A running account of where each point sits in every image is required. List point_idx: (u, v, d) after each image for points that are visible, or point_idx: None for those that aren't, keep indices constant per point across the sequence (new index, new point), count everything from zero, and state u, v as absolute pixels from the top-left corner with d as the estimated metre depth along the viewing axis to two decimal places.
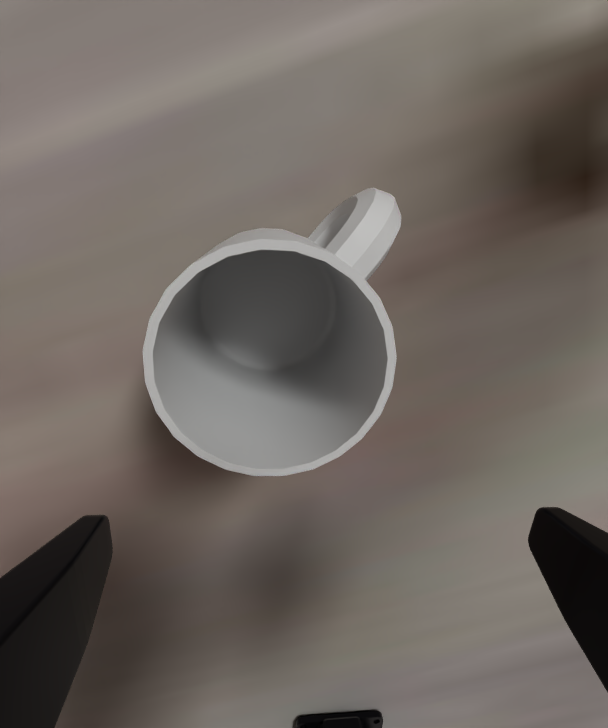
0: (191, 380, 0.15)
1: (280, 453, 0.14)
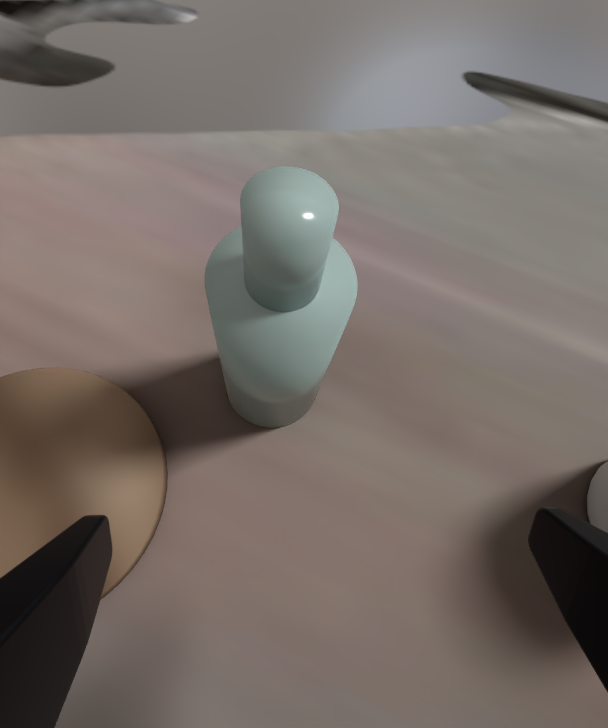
0: None
1: None
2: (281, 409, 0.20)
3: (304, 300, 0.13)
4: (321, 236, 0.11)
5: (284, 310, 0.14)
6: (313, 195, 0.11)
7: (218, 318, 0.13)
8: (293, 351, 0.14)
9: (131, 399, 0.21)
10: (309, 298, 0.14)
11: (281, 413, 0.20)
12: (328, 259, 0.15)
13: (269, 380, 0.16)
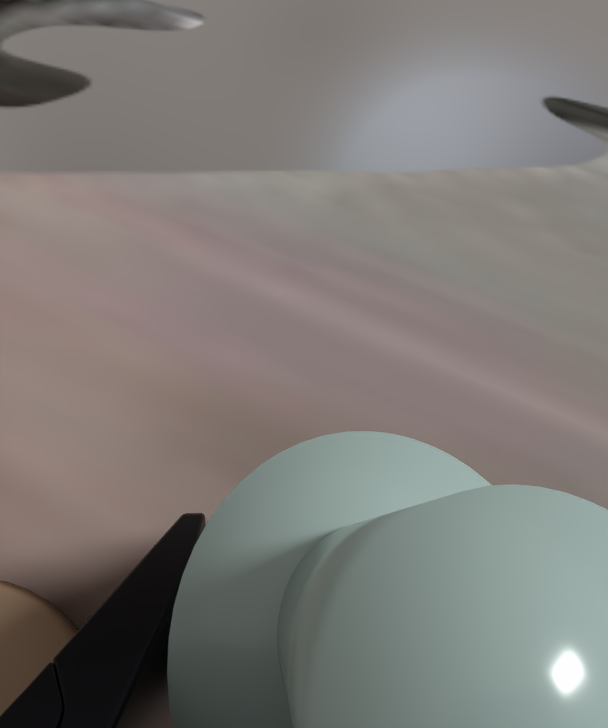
0: None
1: None
2: None
3: None
4: None
5: None
6: None
7: None
8: None
9: (60, 640, 0.12)
10: None
11: None
12: None
13: None
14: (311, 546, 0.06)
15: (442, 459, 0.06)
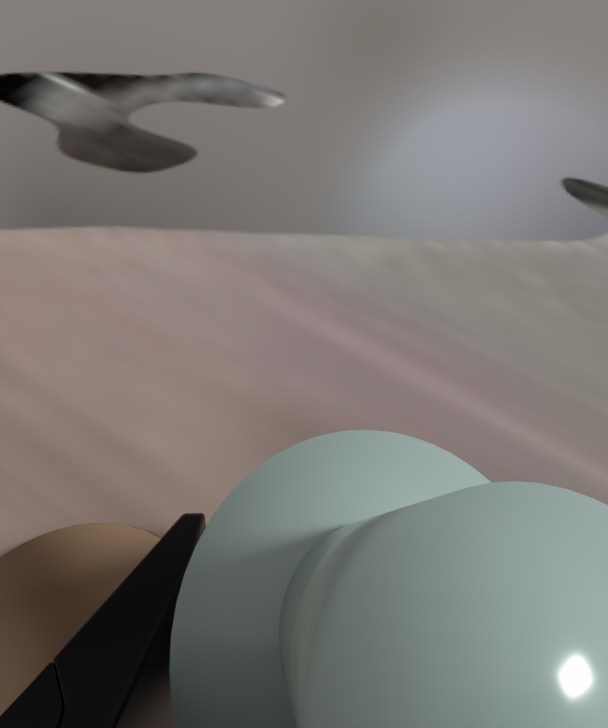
0: None
1: None
2: None
3: None
4: None
5: None
6: None
7: None
8: None
9: None
10: None
11: None
12: None
13: None
14: (313, 544, 0.06)
15: (444, 457, 0.06)
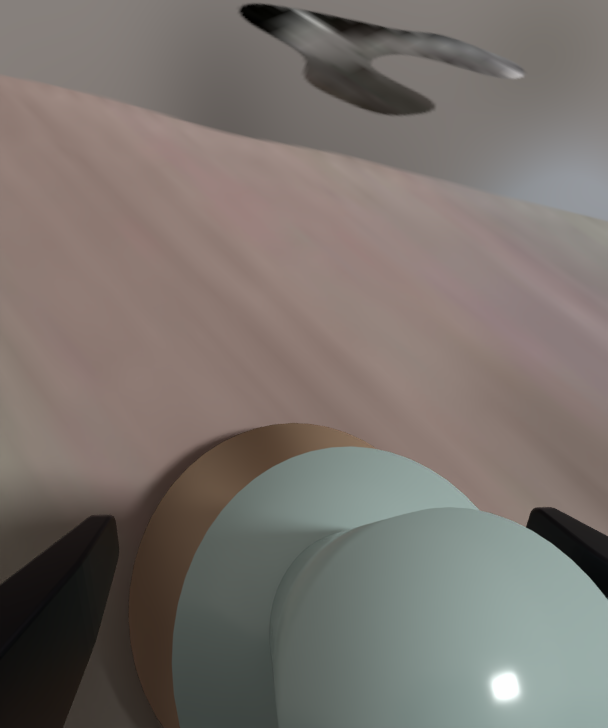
0: None
1: None
2: None
3: None
4: None
5: None
6: (557, 656, 0.03)
7: None
8: None
9: None
10: None
11: None
12: None
13: None
14: (300, 552, 0.06)
15: (421, 471, 0.07)
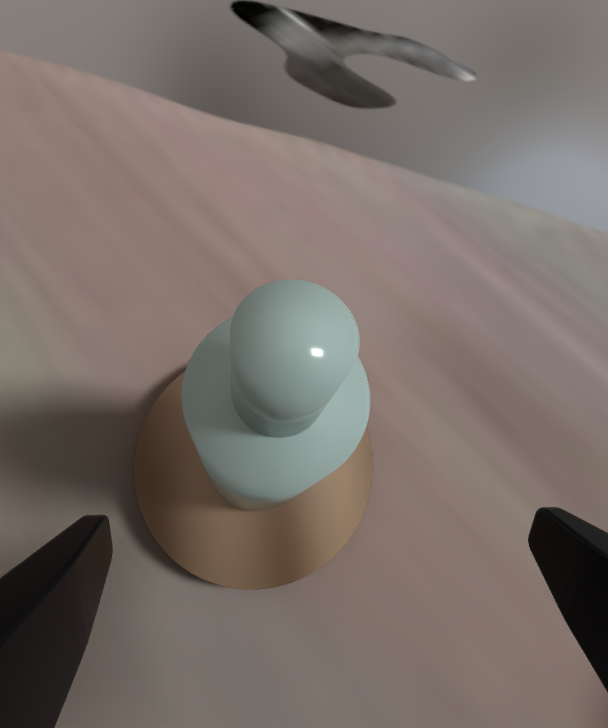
0: None
1: None
2: (268, 506, 0.17)
3: (304, 427, 0.11)
4: (335, 386, 0.08)
5: (279, 435, 0.11)
6: (327, 323, 0.09)
7: (196, 444, 0.11)
8: (287, 489, 0.11)
9: None
10: (312, 423, 0.11)
11: (267, 507, 0.18)
12: None
13: (256, 497, 0.13)
14: None
15: None
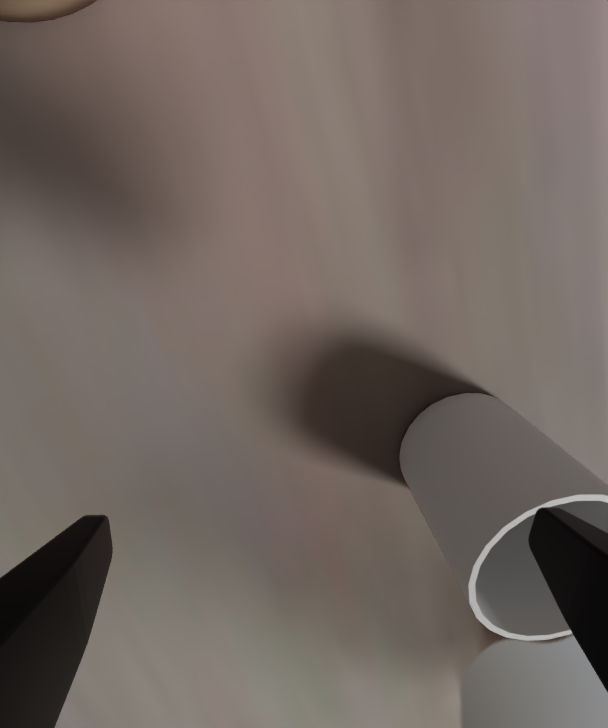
0: None
1: None
2: None
3: None
4: None
5: None
6: None
7: None
8: None
9: None
10: None
11: None
12: None
13: None
14: None
15: None
